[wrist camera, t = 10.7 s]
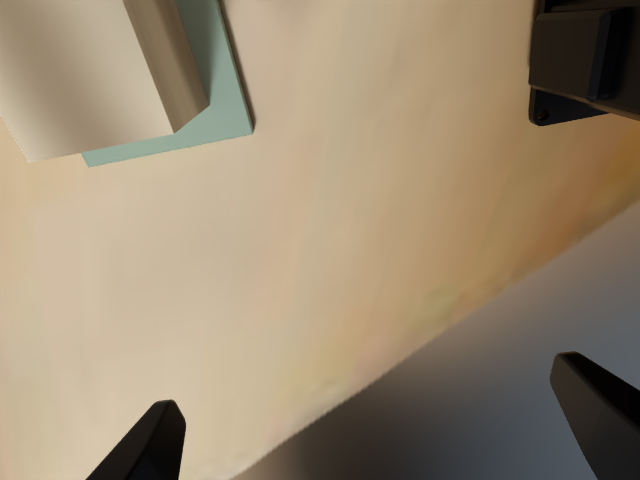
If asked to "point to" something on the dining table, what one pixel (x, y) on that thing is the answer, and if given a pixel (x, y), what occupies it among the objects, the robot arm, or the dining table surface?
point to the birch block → (94, 74)
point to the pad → (219, 83)
